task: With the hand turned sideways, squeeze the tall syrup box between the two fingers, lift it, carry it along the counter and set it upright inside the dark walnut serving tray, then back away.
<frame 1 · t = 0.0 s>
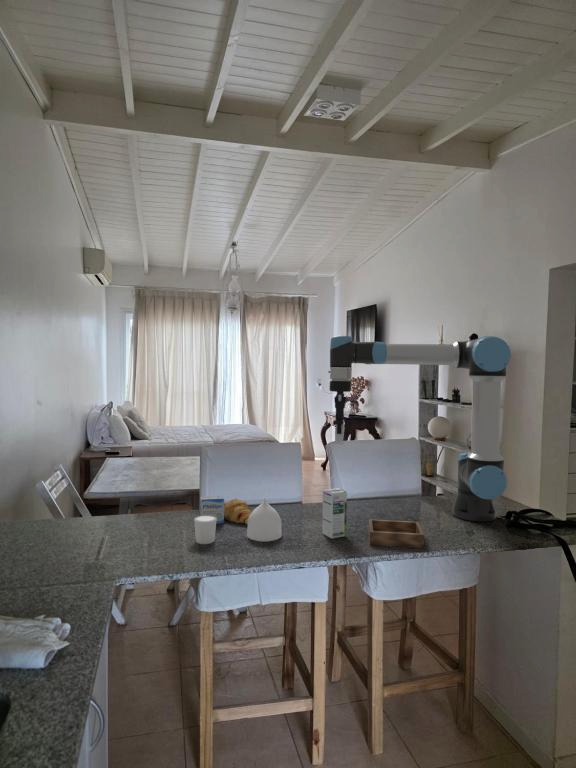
hand: (339, 440, 176), 28 cm above the kitchen counter, tool pointing down, fingers open, 13 cm apart
medicine box: (211, 523, 172), on the kitchen counter
teardrop: (264, 536, 160), on the kitchen counter
croissant: (235, 519, 177), on the kitchen counter
syrup box: (334, 535, 161), on the kitchen counter
shot glass: (205, 541, 154), on the kitchen counter
serving tray: (394, 539, 157), on the kitchen counter
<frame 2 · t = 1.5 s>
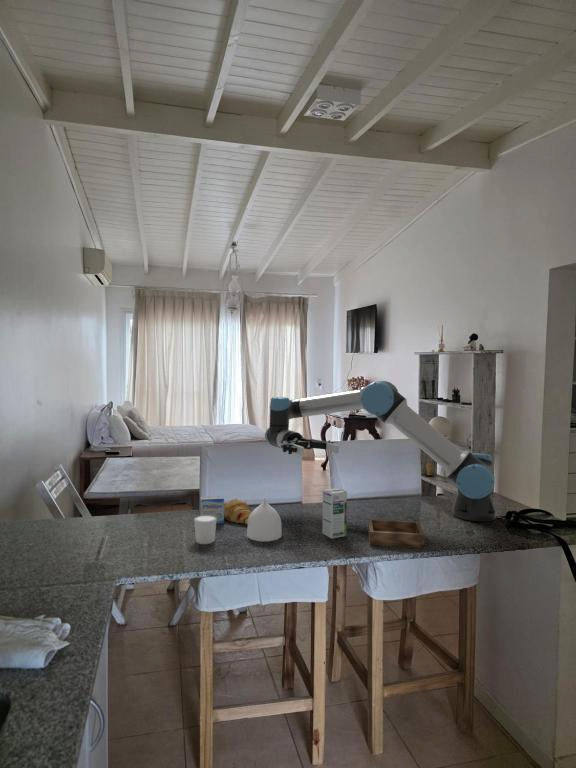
hand: (320, 450, 168), 26 cm above the kitchen counter, tool horizontal, fingers open, 13 cm apart
nothing on the kitchen counter moved.
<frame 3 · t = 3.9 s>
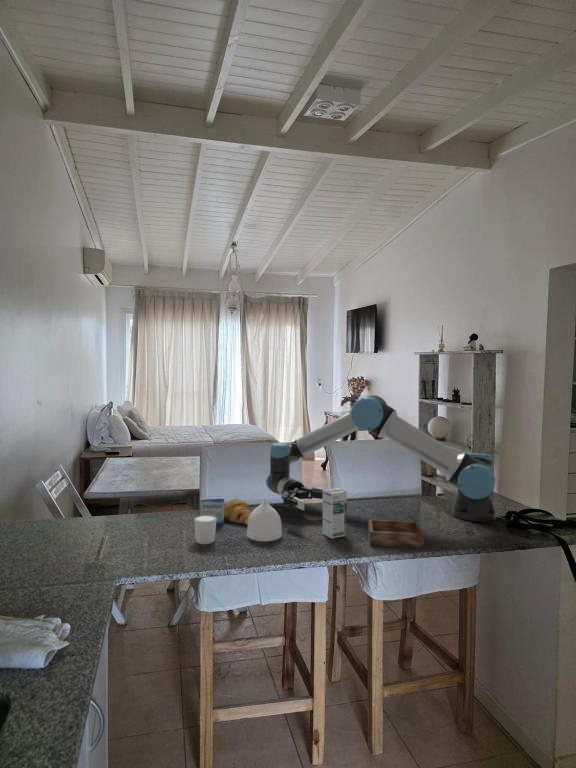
hand: (321, 503, 167), 8 cm above the kitchen counter, tool horizontal, fingers open, 13 cm apart
nothing on the kitchen counter moved.
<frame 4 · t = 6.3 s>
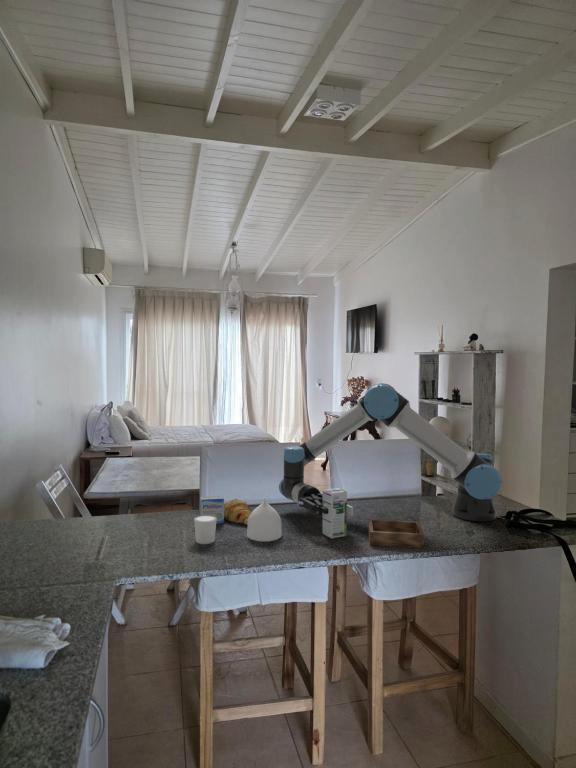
hand: (343, 512, 156), 9 cm above the kitchen counter, tool horizontal, fingers closed on syrup box, 6 cm apart
syrup box: (334, 535, 161), on the kitchen counter, touching gripper
everything else where it was.
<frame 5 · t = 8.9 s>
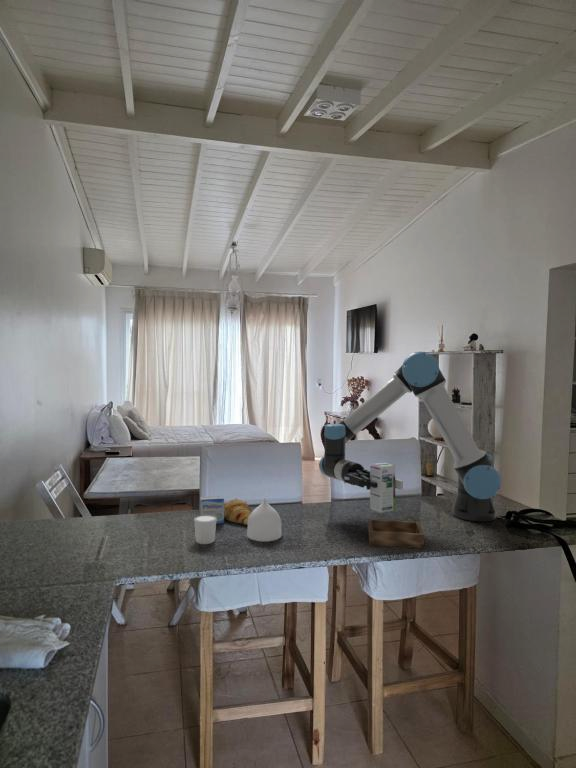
hand: (393, 486, 153), 18 cm above the kitchen counter, tool horizontal, fingers closed on syrup box, 6 cm apart
syrup box: (382, 510, 158), point 9 cm above the kitchen counter, touching gripper
everything else where it was.
when the fingers open (10 cm above the kitchen counter, at t = 11.3 s): syrup box stays where it is, resting on serving tray.
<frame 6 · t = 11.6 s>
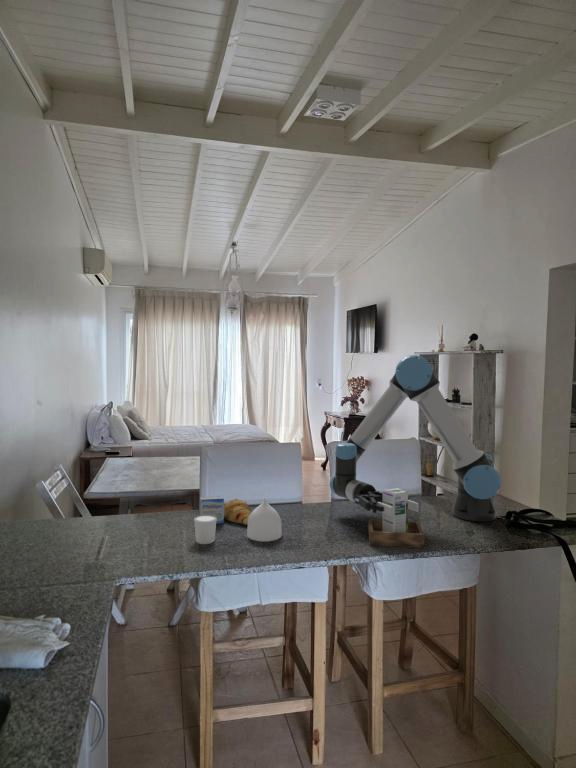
hand: (405, 509, 153), 10 cm above the kitchen counter, tool horizontal, fingers open, 9 cm apart
syrup box: (394, 536, 157), point 1 cm above the kitchen counter, touching serving tray
everything else where it was.
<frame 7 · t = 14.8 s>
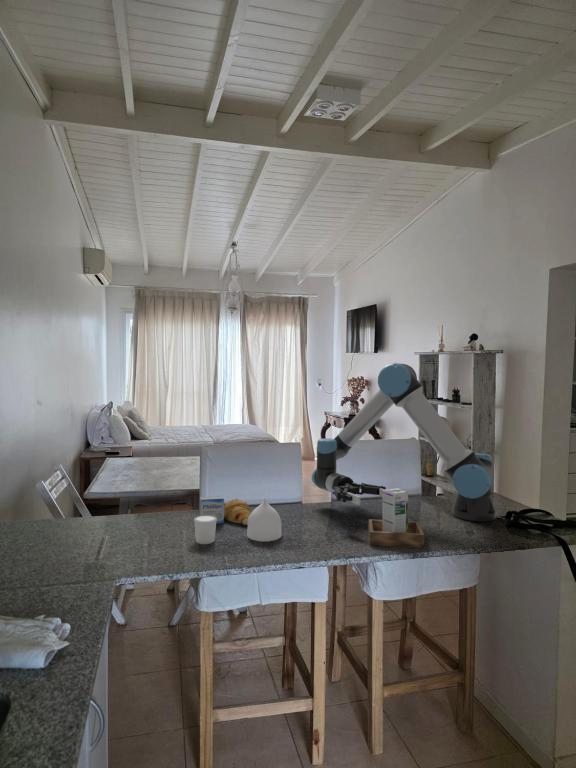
hand: (376, 498, 166), 11 cm above the kitchen counter, tool horizontal, fingers open, 13 cm apart
nothing on the kitchen counter moved.
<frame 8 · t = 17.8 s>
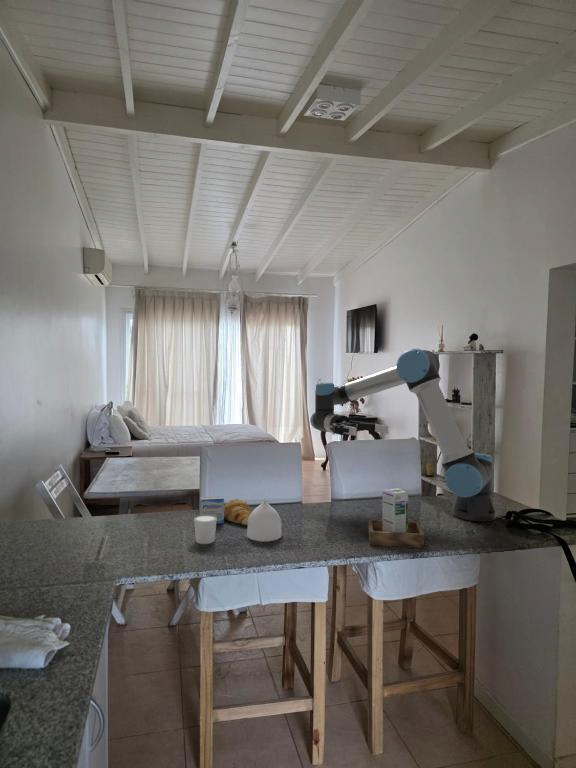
hand: (371, 430, 174), 32 cm above the kitchen counter, tool horizontal, fingers open, 13 cm apart
nothing on the kitchen counter moved.
at the end: syrup box inside the target area on the serving tray (0.1 cm from its centre), point 0.8 cm above the serving tray's base; syrup box tilted 0°; the gripper is holding nothing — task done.
